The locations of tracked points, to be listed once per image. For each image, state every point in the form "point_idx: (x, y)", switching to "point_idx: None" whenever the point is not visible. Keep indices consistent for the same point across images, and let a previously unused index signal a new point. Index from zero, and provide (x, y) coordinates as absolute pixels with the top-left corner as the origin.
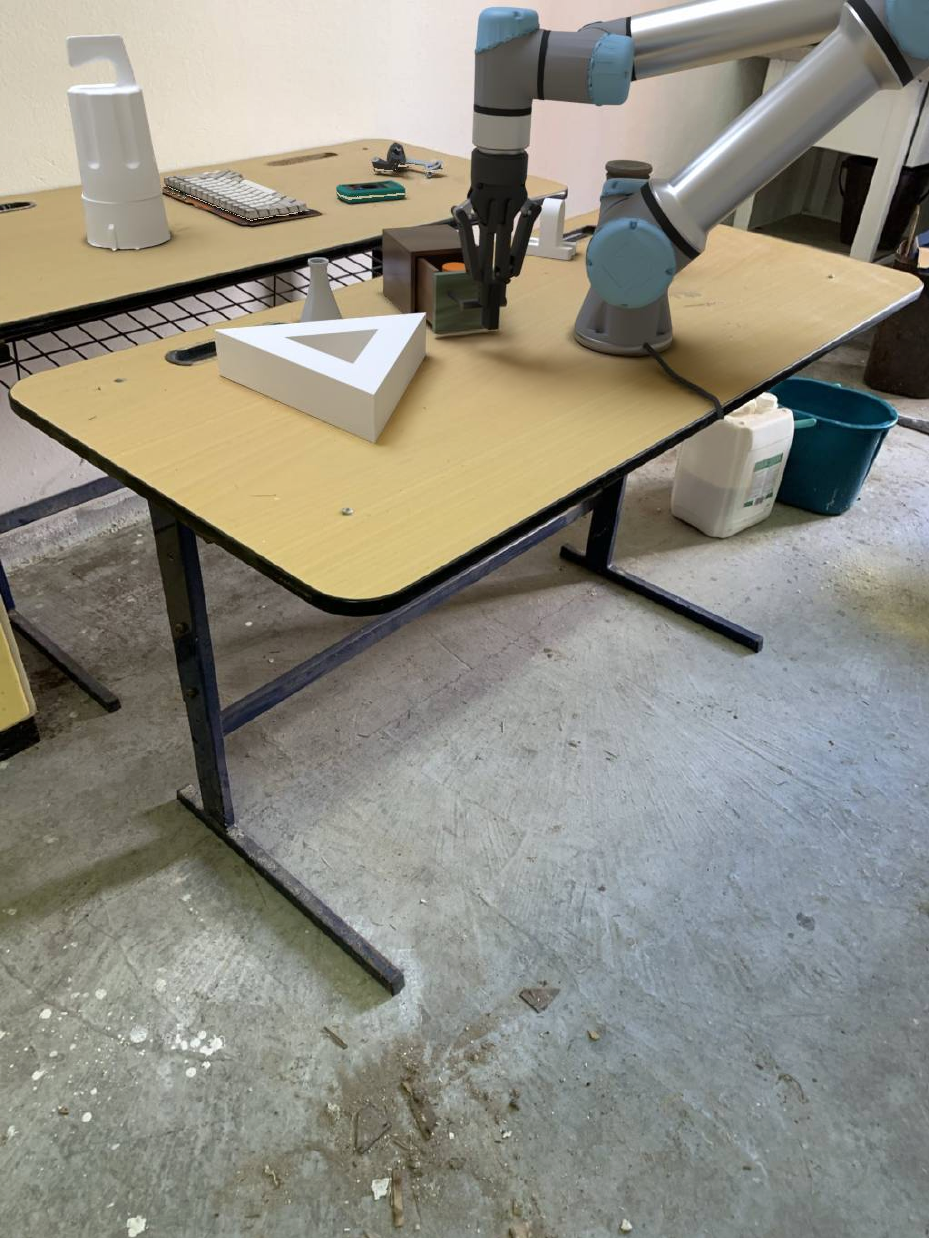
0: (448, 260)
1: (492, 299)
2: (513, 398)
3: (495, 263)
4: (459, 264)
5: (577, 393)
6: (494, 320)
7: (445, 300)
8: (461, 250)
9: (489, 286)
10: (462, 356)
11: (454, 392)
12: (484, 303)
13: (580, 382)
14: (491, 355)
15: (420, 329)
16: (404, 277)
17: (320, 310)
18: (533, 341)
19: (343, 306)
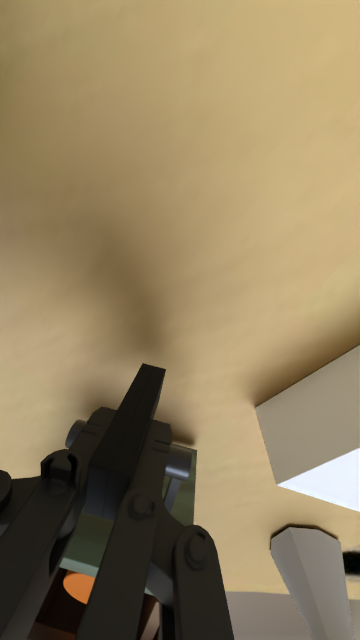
0: (76, 605)
1: (141, 425)
2: (263, 142)
3: (42, 595)
4: (79, 594)
5: (114, 81)
6: (148, 379)
7: (172, 506)
8: (45, 634)
9: (133, 477)
10: (203, 373)
11: (345, 247)
12: (162, 429)
13: (73, 141)
14: (156, 351)
15: (326, 439)
16: None
17: (335, 579)
18: (57, 358)
19: (228, 564)
